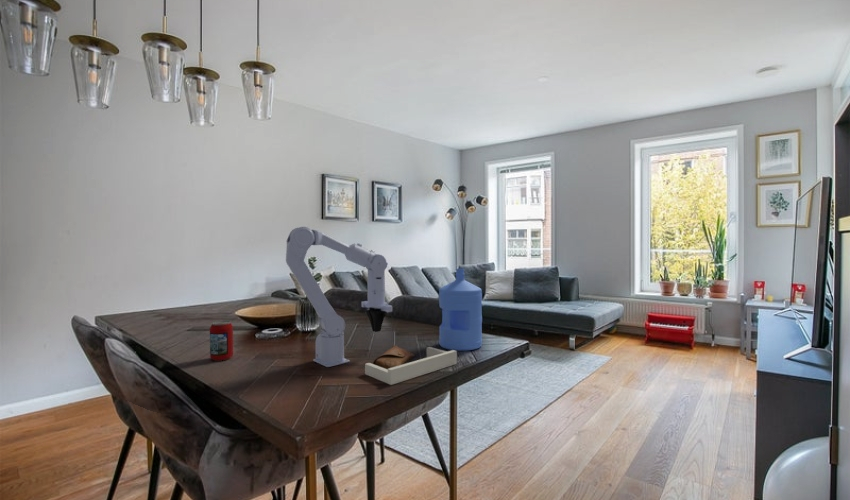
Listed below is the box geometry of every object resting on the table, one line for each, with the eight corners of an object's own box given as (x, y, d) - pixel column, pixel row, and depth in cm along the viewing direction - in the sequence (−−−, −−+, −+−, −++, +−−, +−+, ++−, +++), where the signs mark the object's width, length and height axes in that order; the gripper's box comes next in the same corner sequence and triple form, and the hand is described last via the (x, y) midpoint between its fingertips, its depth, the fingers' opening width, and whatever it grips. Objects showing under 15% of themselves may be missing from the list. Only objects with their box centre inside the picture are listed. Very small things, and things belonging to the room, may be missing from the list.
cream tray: (365, 374, 115) (365, 360, 115) (429, 355, 133) (429, 343, 133) (391, 384, 106) (391, 370, 106) (456, 363, 124) (456, 351, 124)
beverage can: (205, 361, 129) (204, 324, 128) (220, 355, 135) (220, 319, 135) (223, 362, 127) (222, 324, 127) (237, 356, 134) (237, 320, 133)
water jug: (460, 338, 157) (460, 266, 156) (491, 346, 145) (491, 269, 144) (430, 345, 147) (429, 268, 146) (460, 354, 135) (460, 271, 134)
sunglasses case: (399, 372, 116) (388, 351, 117) (379, 382, 118) (369, 362, 119) (416, 355, 134) (406, 337, 135) (399, 364, 136) (390, 346, 136)
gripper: (399, 291, 130) (399, 332, 130) (373, 287, 140) (373, 325, 141) (382, 293, 125) (382, 336, 125) (356, 289, 135) (356, 329, 136)
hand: (376, 331), depth 133 cm, fingers closed
